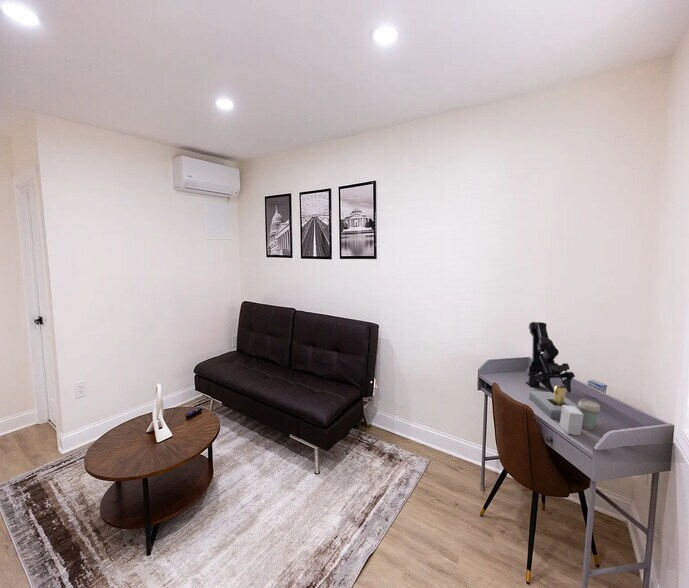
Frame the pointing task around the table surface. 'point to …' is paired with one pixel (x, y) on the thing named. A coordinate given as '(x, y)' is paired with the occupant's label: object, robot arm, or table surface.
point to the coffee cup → (589, 413)
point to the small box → (571, 420)
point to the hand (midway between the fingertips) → (561, 392)
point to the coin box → (548, 403)
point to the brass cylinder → (559, 395)
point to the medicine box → (597, 385)
